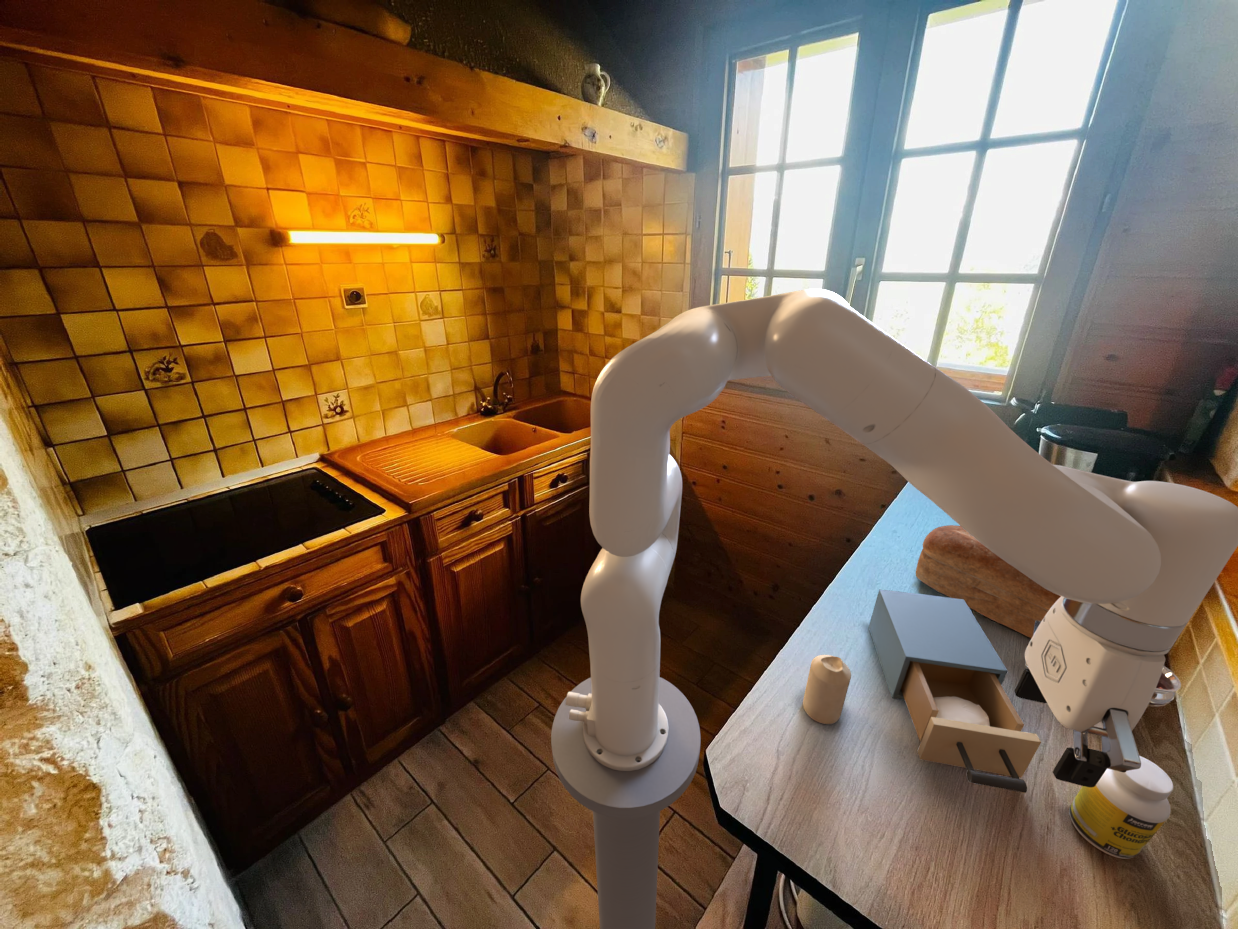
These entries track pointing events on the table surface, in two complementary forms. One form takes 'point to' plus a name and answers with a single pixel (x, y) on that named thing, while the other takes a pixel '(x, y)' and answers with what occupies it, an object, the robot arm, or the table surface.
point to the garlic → (961, 710)
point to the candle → (826, 688)
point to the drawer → (969, 725)
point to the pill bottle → (1123, 809)
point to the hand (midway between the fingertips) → (1049, 736)
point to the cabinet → (928, 636)
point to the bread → (982, 579)
